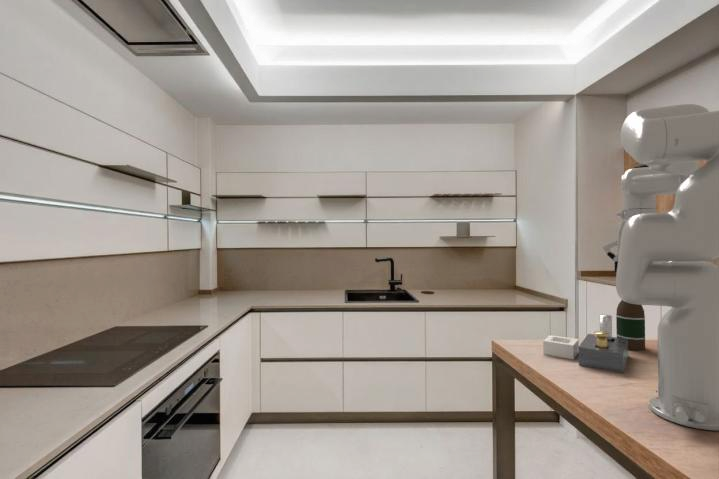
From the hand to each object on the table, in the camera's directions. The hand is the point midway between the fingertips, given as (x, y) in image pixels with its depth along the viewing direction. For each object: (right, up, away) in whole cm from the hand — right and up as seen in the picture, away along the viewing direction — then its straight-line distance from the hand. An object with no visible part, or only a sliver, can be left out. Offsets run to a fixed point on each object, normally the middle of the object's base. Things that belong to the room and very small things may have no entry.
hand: (639, 275), depth 105 cm
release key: (-13, -22, -4) cm, 26 cm away
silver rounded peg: (-7, -24, +3) cm, 25 cm away
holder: (-19, -25, +7) cm, 32 cm away
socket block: (-10, -25, 0) cm, 27 cm away
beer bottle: (+6, -25, +11) cm, 28 cm away
